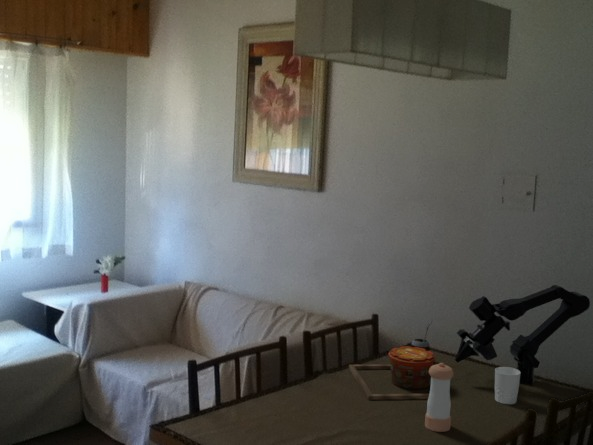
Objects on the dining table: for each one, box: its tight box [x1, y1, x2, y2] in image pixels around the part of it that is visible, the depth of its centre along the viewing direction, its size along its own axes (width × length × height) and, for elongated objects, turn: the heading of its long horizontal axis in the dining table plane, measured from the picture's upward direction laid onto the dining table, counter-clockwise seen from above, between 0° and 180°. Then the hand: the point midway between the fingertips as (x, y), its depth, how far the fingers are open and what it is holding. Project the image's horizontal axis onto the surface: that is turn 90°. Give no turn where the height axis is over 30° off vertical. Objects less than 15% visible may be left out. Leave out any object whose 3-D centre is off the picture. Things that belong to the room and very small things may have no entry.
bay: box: [348, 363, 430, 401], centre depth 239 cm, size 26×30×1 cm
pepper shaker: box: [424, 362, 455, 433], centre depth 203 cm, size 7×7×19 cm
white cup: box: [494, 366, 521, 405], centre depth 226 cm, size 8×8×10 cm
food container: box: [388, 345, 437, 390], centre depth 238 cm, size 16×16×11 cm
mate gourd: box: [410, 320, 433, 351], centre depth 262 cm, size 8×8×15 cm
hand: (456, 361), depth 241 cm, fingers closed
